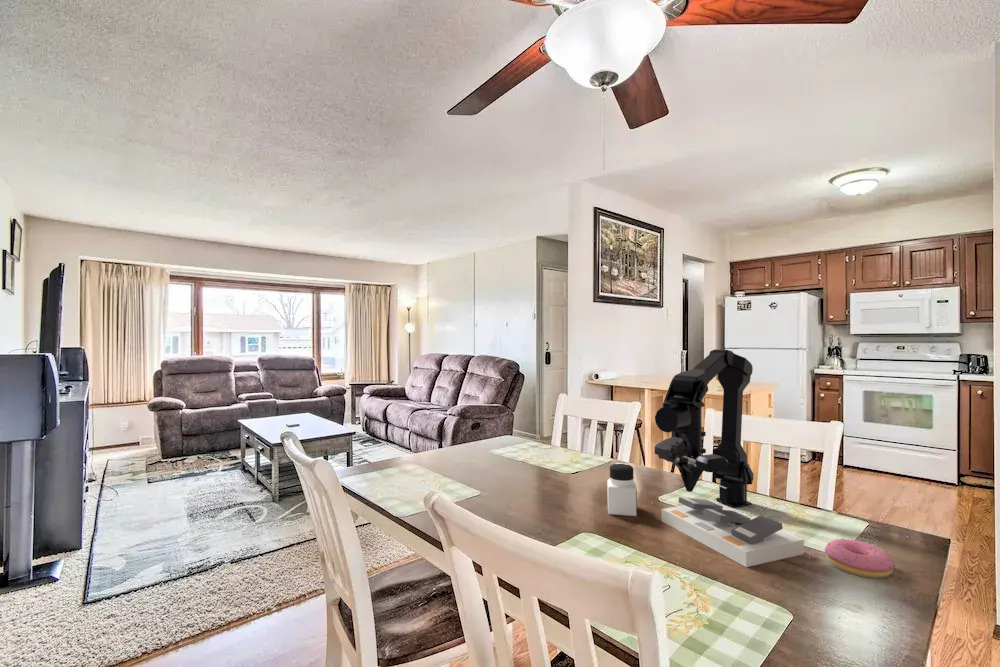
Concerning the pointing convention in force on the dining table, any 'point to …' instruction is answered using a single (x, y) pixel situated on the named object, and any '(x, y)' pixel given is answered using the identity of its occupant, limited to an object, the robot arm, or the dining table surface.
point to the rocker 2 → (756, 529)
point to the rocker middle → (726, 516)
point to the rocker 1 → (699, 504)
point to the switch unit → (731, 537)
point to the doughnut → (859, 558)
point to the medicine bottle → (621, 490)
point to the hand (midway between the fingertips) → (689, 491)
